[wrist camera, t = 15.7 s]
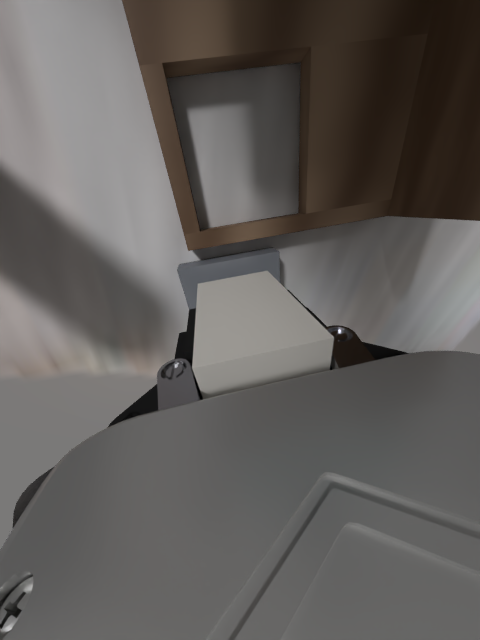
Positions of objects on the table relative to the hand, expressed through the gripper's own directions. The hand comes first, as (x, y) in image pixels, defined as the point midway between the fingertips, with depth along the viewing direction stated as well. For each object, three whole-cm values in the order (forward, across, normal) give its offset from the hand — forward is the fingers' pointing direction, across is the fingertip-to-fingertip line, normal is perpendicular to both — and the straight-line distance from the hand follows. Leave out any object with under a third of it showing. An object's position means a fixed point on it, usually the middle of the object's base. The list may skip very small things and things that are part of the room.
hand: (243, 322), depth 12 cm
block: (+2, 0, 0) cm, 2 cm away
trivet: (+5, 0, 0) cm, 5 cm away
